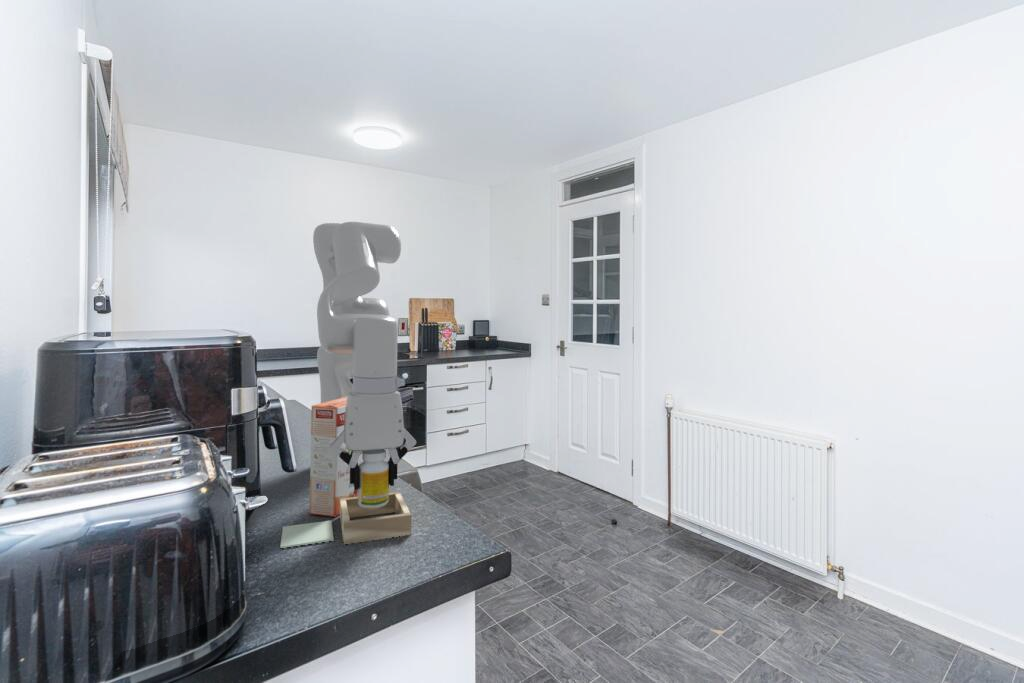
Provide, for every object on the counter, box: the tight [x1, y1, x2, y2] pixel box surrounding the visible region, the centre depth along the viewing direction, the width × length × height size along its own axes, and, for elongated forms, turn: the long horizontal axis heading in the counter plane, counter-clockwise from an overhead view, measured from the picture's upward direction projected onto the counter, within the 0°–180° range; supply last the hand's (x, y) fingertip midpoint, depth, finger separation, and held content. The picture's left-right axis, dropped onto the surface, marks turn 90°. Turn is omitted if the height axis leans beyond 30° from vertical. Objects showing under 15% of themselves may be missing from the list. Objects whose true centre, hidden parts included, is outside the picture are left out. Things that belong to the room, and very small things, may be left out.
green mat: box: [279, 520, 334, 549], centre depth 82 cm, size 8×8×1 cm
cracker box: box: [309, 396, 363, 518], centre depth 96 cm, size 14×6×21 cm, turn 168°
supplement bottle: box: [358, 449, 390, 509], centre depth 87 cm, size 5×5×10 cm
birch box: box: [339, 491, 412, 546], centre depth 86 cm, size 12×11×4 cm
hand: (373, 484), depth 87 cm, fingers closed on supplement bottle, 5 cm apart
